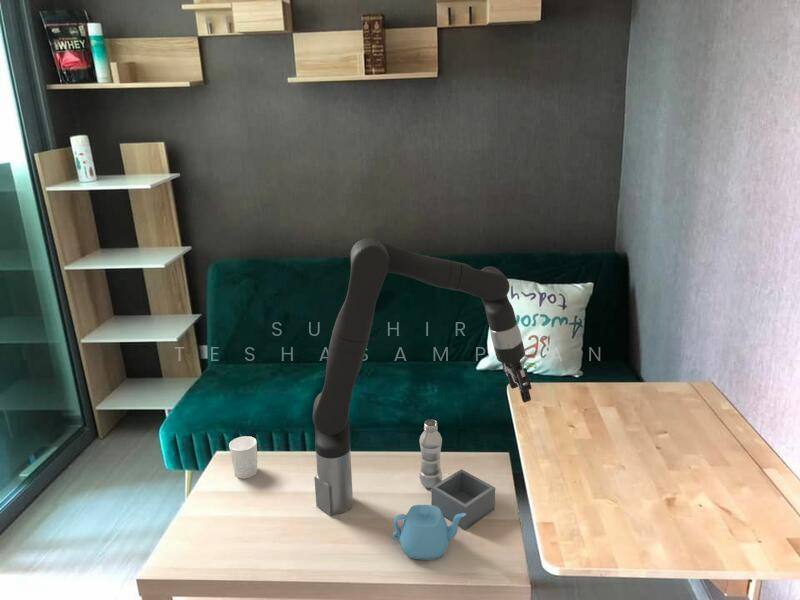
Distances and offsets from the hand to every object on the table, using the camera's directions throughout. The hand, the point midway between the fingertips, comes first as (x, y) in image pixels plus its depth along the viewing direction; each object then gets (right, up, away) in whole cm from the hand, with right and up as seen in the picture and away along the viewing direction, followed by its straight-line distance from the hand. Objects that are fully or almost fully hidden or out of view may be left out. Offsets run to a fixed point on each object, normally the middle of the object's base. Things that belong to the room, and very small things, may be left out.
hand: (520, 394), depth 169 cm
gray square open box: (-15, -31, +2) cm, 35 cm away
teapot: (-25, -36, -12) cm, 46 cm away
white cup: (-78, -27, +20) cm, 85 cm away
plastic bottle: (-23, -28, +13) cm, 39 cm away
